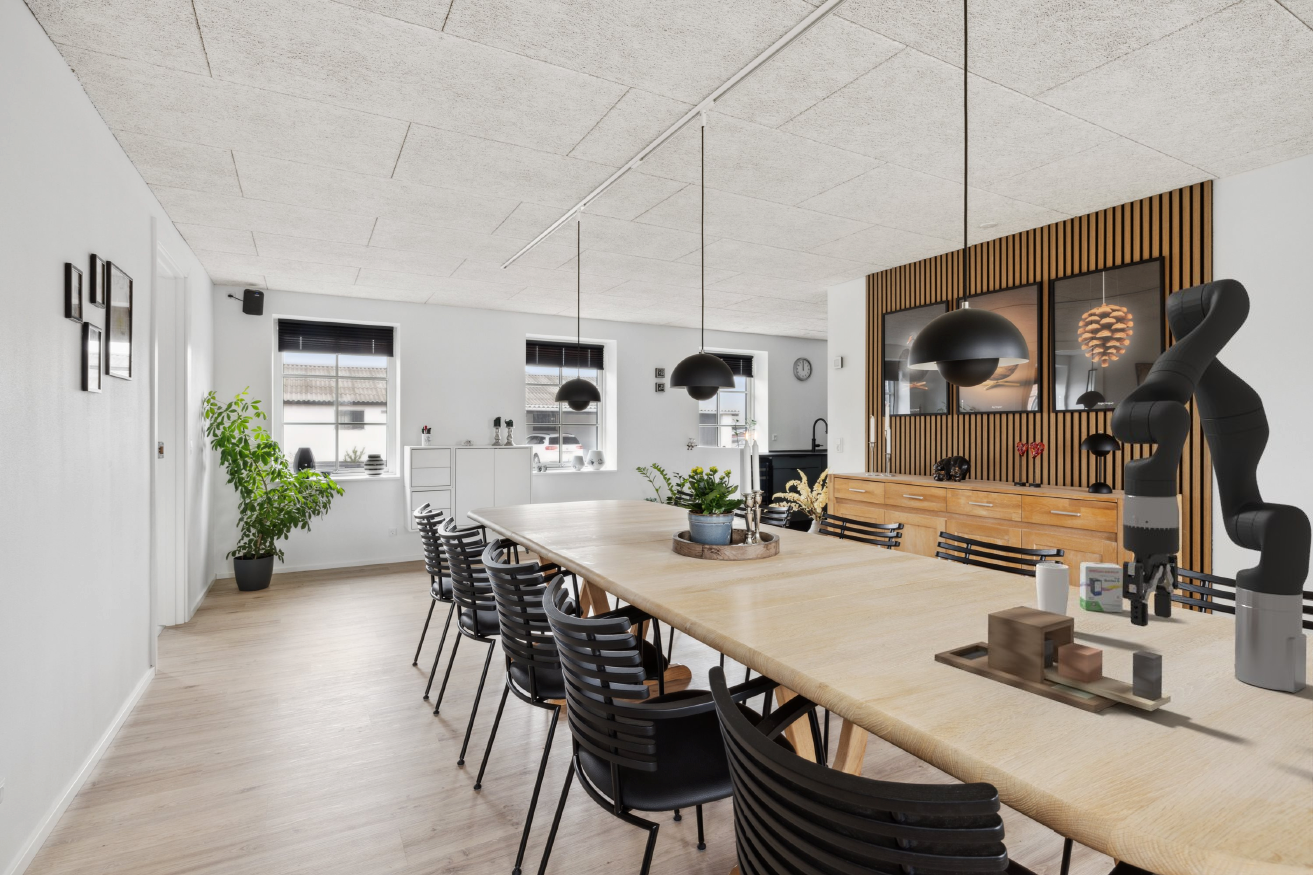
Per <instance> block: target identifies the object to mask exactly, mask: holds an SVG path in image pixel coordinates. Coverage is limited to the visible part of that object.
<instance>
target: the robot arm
mask: <svg viewBox="0 0 1313 875" xmlns="http://www.w3.org/2000/svg"><path fill="white" fill-rule="evenodd" d="M1250 308H1251V302H1250V297H1249V294H1248V291H1247V289H1246V287H1245V285H1244V284H1242V283H1241V282H1240V281H1239V280H1237V279H1234V278H1223V279H1217V280H1214V281H1210V282H1207V283H1202V284H1197V285H1194V286H1190V287H1187V288H1183V289H1180V290H1179V289H1178V290H1177V291H1174V292H1172V293H1170V295H1169V296H1168V297H1167V299H1166V302H1165V313H1166V319H1167V323H1168V326H1169V329H1170V331H1171V334H1172V336H1173V340H1174V341H1175V343H1174V344H1173V345H1171V346H1170V347H1169V348H1167V349H1166V350H1165V351H1164V352H1163V353H1161V355H1160V356H1159V357H1158V358H1157V359H1156V361H1155V362H1154V363H1153V365H1152V366H1151V368H1150V369H1149V372H1148V374H1147V375H1146V377H1145V379H1144V381H1143V382H1142V383H1141V384H1139V385H1138V386H1137V387H1136V388H1135V389H1134V390H1133V391H1131V392H1130V393H1129V394H1128V395H1127V396H1125V397H1124V398H1123V399H1122V400H1121V401H1120V402H1119V403H1118V405H1117V406H1116V407H1115V409H1113V412H1112V415H1111V418H1110V425H1109V427H1110V430H1111V434H1112V436H1114V438H1115V440H1117V441H1119V442H1121V443H1122V444H1128V445H1157V446H1156V449H1155V451H1154V452H1153V453H1152V455H1150V456H1148V457H1141V458H1136V459H1131V460H1128V461H1127V462H1126V463H1125V465H1124V473H1123V474H1124V476H1123V478H1124V483H1123V484H1124V487H1123V488H1124V494H1123V495H1124V496H1123V497H1124V498H1123V502H1122V503H1123V504H1122V547H1123V549H1124V550H1125V551H1128V552H1131V553H1133V555H1134V556H1133V561H1126V560H1125V561H1123V562H1122V568H1123V589H1122V590H1123V591H1122V596H1123V599H1125V600H1127V601H1128V602H1129V601H1130V622H1131V624H1132V625H1134V626H1138V627H1146V626H1148V625H1149V603H1148V602H1149V599H1150V596H1151V594H1152V593H1153V594H1154V595H1153V598H1154V599H1153V604H1154V606H1153V609H1154V610H1153V612H1154V615H1155V616H1156V617H1160V618H1164V619H1168V618H1171V617H1172V596H1173V595H1174V592H1175V590H1178V588H1179V586H1180V585H1179V571H1178V570H1179V566H1178V563H1179V562H1178V559H1179V558H1178V555H1177V554H1178V553H1179V552H1180V509H1179V503H1178V502H1179V501H1178V480H1177V479H1178V477H1177V476H1178V468H1179V464H1180V461H1181V456H1182V453H1183V449H1184V447H1185V446H1184V445H1185V444H1186V442H1187V438H1188V436H1189V433H1190V429H1191V424H1192V421H1191V414H1190V412H1189V410H1188V409H1187V407H1186V405H1187V404H1188V403H1189V402H1190V400H1191V398H1192V396H1194V399H1195V400H1194V401H1195V403H1196V404H1195V405H1196V408H1197V412H1198V416H1199V421H1200V423H1201V427H1202V432H1203V434H1204V437H1205V440H1206V443H1207V446H1208V450H1209V454H1210V457H1211V462H1212V466H1213V470H1214V474H1215V477H1216V483H1217V489H1218V494H1219V502H1220V503H1219V504H1220V508H1221V516H1222V521H1223V525H1224V529H1225V532H1226V534H1227V536H1228V538H1229V539H1230V541H1231V542H1232V543H1234V544H1235V545H1236V546H1238V547H1240V548H1243V549H1246V550H1250V551H1256V552H1260V555H1259V556H1260V558H1259V561H1258V564H1257V565H1256V566H1253V567H1252V568H1251V567H1250V568H1243V569H1240V570H1238V571H1237V572H1236V575H1235V608H1234V610H1235V614H1234V617H1235V620H1234V626H1235V627H1234V677H1235V679H1237V680H1239V681H1241V682H1243V683H1246V684H1248V685H1253V686H1255V687H1258V688H1263V689H1269V690H1276V691H1284V692H1288V693H1289V692H1290V693H1298V691H1300V690H1302V689H1304V688H1305V687H1306V686H1307V635H1306V633H1303V609H1304V608H1303V605H1304V604H1303V602H1304V601H1303V599H1304V597H1303V596H1304V595H1303V593H1304V585H1305V582H1306V580H1307V578H1308V575H1309V570H1310V560H1311V558H1310V557H1311V547H1312V526H1311V521H1310V519H1309V517H1308V515H1307V514H1306V513H1305V511H1304V510H1302V508H1299V507H1298V506H1294V505H1292V504H1291V505H1290V504H1284V503H1276V502H1265V501H1264V500H1263V498H1262V496H1261V492H1260V489H1259V485H1258V480H1257V478H1258V477H1257V470H1258V465H1259V463H1260V460H1261V458H1262V456H1263V454H1264V453H1265V452H1264V451H1265V450H1266V447H1267V445H1268V442H1269V437H1270V426H1269V421H1268V419H1267V414H1266V411H1265V408H1264V404H1263V400H1262V398H1261V396H1260V394H1258V392H1257V391H1256V389H1254V388H1253V387H1252V386H1251V385H1250V384H1249V383H1247V381H1245V380H1244V379H1242V378H1241V377H1240V376H1239V375H1237V374H1236V373H1235V372H1233V370H1231V369H1229V368H1228V367H1227V366H1226V365H1225V364H1223V362H1222V361H1220V360H1219V358H1218V357H1217V356H1218V354H1219V353H1220V352H1221V351H1222V350H1223V349H1224V347H1225V346H1226V345H1227V344H1228V343H1229V342H1230V341H1231V340H1232V338H1233V337H1234V336H1235V335H1236V334H1237V333H1238V331H1239V330H1240V329H1241V328H1242V326H1243V325H1244V324H1245V322H1246V320H1247V318H1248V317H1249V313H1250Z"/></svg>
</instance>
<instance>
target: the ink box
mask: <svg viewBox="0 0 1313 875" xmlns="http://www.w3.org/2000/svg"><path fill="white" fill-rule="evenodd" d="M1079 564H1080V565H1079V566H1080V567H1079V568H1080V569H1079V606H1080V607H1081V608H1082V609H1083V610H1085V611H1091V612H1109V613H1123V612H1124V611H1123V610H1124V607H1123V604H1124V601H1123V599H1124V598H1123V596H1122V591H1123V566H1120V565H1118V564H1117V563H1109V562H1106V563H1105V562H1092V561H1091V562H1090V561H1088V562H1087V561H1082V562H1080V563H1079Z"/></svg>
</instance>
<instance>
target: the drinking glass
mask: <svg viewBox="0 0 1313 875" xmlns="http://www.w3.org/2000/svg"><path fill="white" fill-rule="evenodd" d="M1035 567H1036V568H1035V585H1036V598H1037V609H1038V610H1042V611H1047V612H1051V613H1056V614H1060V615H1064V616H1067V609H1068V601H1069V594H1070V593H1069V592H1070V567H1069V566H1068V565H1066V564H1059V563H1053V562H1040V563H1037V564H1036V566H1035Z"/></svg>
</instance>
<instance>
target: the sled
mask: <svg viewBox="0 0 1313 875" xmlns="http://www.w3.org/2000/svg"><path fill="white" fill-rule="evenodd" d="M1103 676H1104V675H1103V649H1099V648H1095V647H1091V646H1089V645H1084V644H1079V643H1076V642H1074V643H1070V644H1067V645H1064V646H1061V647H1058V664H1057V663H1054V662H1053V639H1050V638H1047V637H1044V678H1045V679H1048V680H1052V681H1055V682H1058V683H1061V684H1065V685H1068V686H1071V687H1074V688H1078V689H1081V690H1084V691H1087V692H1091V693H1094V694H1097V695H1100V696H1104V697H1107V698H1110V699H1113V700H1117V701H1120V702H1119V703H1123V704H1127V705H1131V706H1133V707H1136V708H1140V709H1143V710H1145V711H1150V712H1152V711H1154V710H1156V709H1158V708H1160V707H1161V708H1162V706H1165V705H1167V704H1170V703H1171V702H1172V698H1171V697H1172V696H1171V695H1169V694H1165V693H1162V692H1163V685H1162V684H1163V655H1162V654H1159V653H1156V652H1152V651H1151V652H1150V651H1147V650H1142V649H1141V650H1138V651H1136V652H1133V653H1132V683H1129V684H1127V683H1128V682H1126V683H1124V682H1125V681H1122V682H1120V681H1121V680H1119V681H1117V680H1118V679H1115V680H1113V679H1114V678H1112V679H1110V678H1111V677H1108V678H1106V677H1107V676H1105V677H1103ZM1131 684H1133V685H1131Z"/></svg>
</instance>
